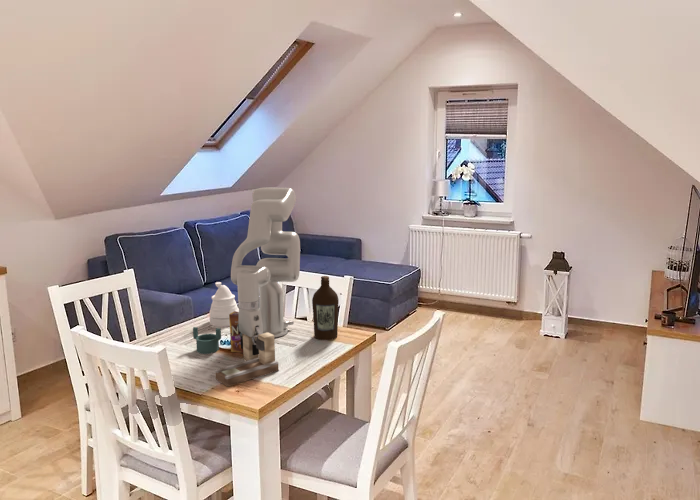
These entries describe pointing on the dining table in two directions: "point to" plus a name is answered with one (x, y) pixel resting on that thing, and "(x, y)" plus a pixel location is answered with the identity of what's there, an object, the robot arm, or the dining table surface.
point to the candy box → (235, 333)
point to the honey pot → (222, 306)
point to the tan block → (248, 348)
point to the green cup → (207, 341)
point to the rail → (251, 363)
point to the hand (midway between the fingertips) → (250, 350)
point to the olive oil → (325, 311)
